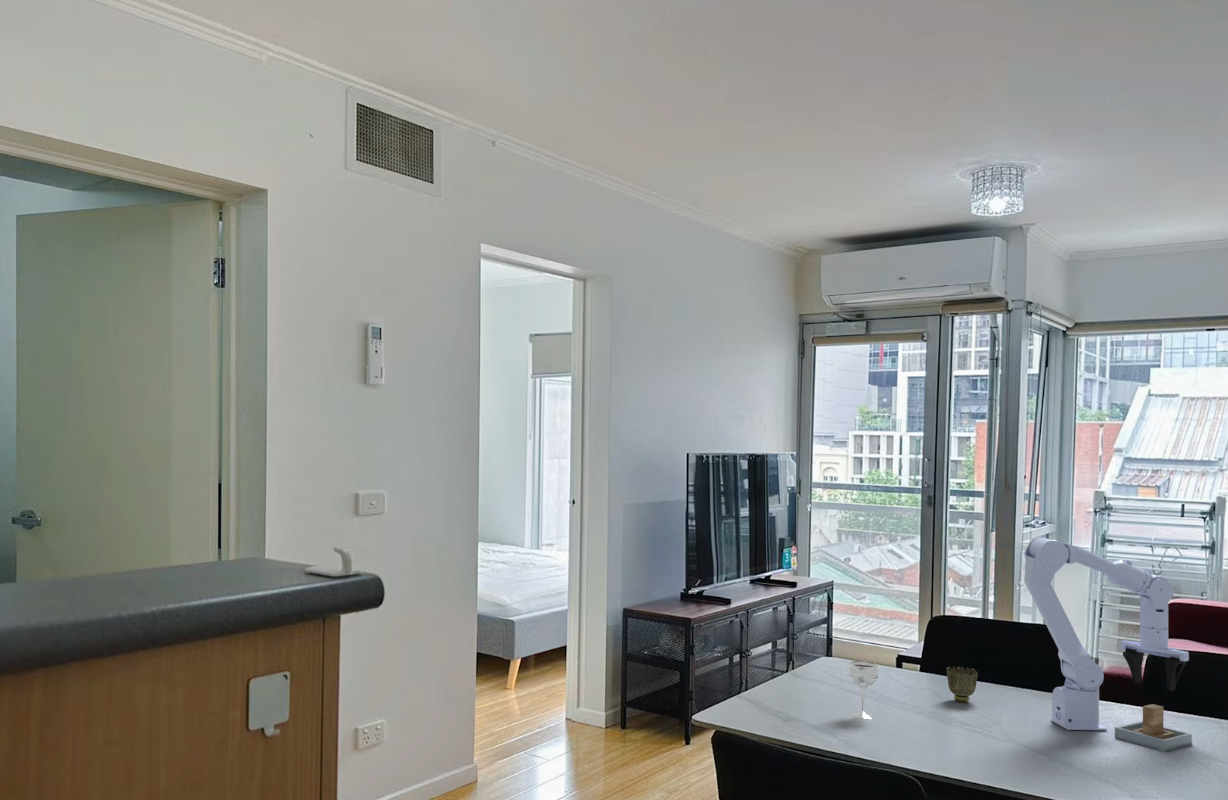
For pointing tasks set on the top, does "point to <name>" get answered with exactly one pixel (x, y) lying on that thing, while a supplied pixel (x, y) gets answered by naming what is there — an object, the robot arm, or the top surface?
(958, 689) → the cup
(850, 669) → the wineglass
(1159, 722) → the tan wooden tall block
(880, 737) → the top surface
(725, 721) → the top surface
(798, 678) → the top surface
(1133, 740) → the grey tray
